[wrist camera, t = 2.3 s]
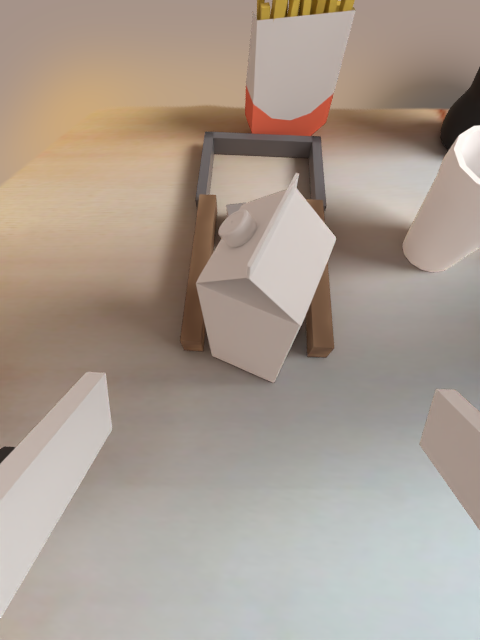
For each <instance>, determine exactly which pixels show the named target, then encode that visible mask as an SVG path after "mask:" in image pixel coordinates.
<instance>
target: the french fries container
mask: <svg viewBox="0 0 480 640" xmlns="http://www.w3.org/2000/svg"><path fill="white" fill-rule="evenodd" d="M353 4H354V0H341V1H338V0H289V10H288V0H273V1H272V9H271V14H270V5H269V3H264V0H257V19H256V17H255V15H254V13H253V14H252V15H253V16H252V28H251V39H250V49H249V59H248V69H247V80H246V104H245V115H246V118H247V121H248V124H249V126H250V129H251V132H252V134H273V135H296V136H311V135H312V134H313V133H315V132H316V131H317V130H318V129H319V128H320V127H321V126H323V125H324V124H325V123H326V121H327V117H328V113H329V109H330V105H331V101H332V98H333V94H334V90H335V86H336V82H337V79H338V75H339V71H340V67H341V63H342V60H343V56H344V52H345V48H346V45H347V41H348V37H349V33H350V30H351V26H352V22H353V18H354V14H355V9H354V7H353ZM299 5H300V7H299ZM287 10H288V14H287ZM298 15H299V16H298Z"/></svg>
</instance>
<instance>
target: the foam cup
mask: <svg viewBox="0 0 480 640" xmlns="http://www.w3.org/2000/svg"><path fill="white" fill-rule="evenodd" d="M402 247H403V252H404V255H405V256H406V258H407V259H408V260H409V261H410V263H411V264H413V265H414V266H416V267H418V268H419V269H421V270H424V271H429V272H433V273H434V272H440V271H445V270H446V269H448V268H450V267H451V266H453V265H454V264H456V263H457V262H459V261H460V260H462V259H463V258H465V257H466V256H468V255H469V254H471V253H472V252H474V251H475V250H477V249H478V248H480V125H478V126H473V127H471V128H470V129H468V130H466V131H465V132H463V133H462V134H460V135H459V136H458V137H457V139H456V140H455V142H454V143H453V145H452V146H451V148H450V149H449V151H448V152H447V154H446V155H445V157H444V158H443V161H442V164H441V166H440V169H439V172H438V174H437V176H436V178H435V180H434V182H433V184H432V186H431V188H430V190H429V192H428V194H427V196H426V198H425V200H424V202H423V203H422V205H421V207H420V209H419V211H418V213H417V215H416V217H415V219H414V221H413V223H412V225H411V227H410V229H409V231H408V233H407V235H406V237H405V239H404V242H403V244H402Z"/></svg>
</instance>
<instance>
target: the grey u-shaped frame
mask: <svg viewBox="0 0 480 640" xmlns="http://www.w3.org/2000/svg"><path fill="white" fill-rule="evenodd" d="M214 154H228V155H251V156H273V157H296V158H309V176H310V194H311V199H314V200H323V208H324V211H325V208H326V197H325V185H324V172H323V160H322V148H321V137H319V136H296V135H273V134H250V133H227V132H205V136H204V143H203V150H202V158H201V165H200V172H199V179H198V186H197V193H196V207H197V210H198V202H199V195H200V194H205V195H209V194H210V185H211V177H212V168H213V160H214Z"/></svg>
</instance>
